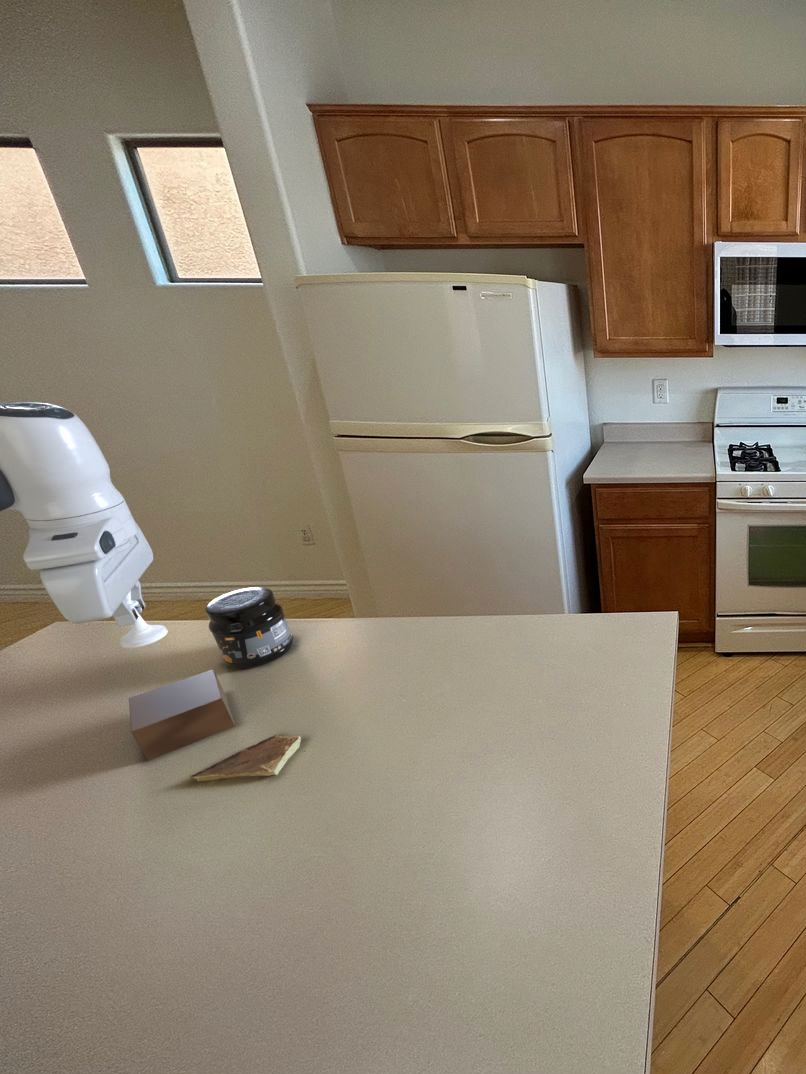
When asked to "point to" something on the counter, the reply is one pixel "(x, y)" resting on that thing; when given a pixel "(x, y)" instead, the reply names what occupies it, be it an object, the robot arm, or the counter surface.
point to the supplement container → (249, 627)
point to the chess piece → (141, 630)
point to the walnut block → (179, 714)
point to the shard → (254, 760)
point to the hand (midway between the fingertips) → (133, 617)
